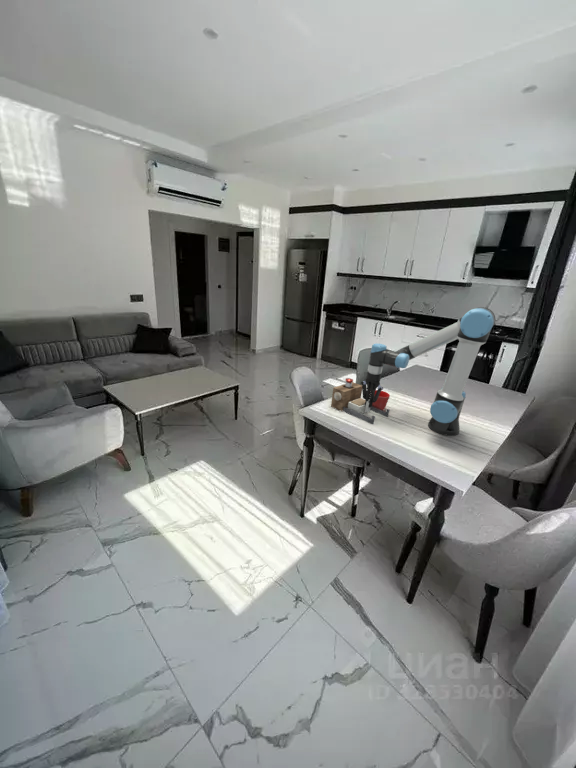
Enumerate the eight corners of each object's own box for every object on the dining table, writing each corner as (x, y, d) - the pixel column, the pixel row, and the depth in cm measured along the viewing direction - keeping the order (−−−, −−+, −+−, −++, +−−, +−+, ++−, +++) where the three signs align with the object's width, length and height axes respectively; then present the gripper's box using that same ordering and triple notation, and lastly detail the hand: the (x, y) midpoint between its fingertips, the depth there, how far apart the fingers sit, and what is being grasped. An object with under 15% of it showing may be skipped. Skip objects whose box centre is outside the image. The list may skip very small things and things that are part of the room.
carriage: (369, 410, 183) (371, 401, 181) (358, 415, 175) (360, 406, 173) (358, 405, 188) (359, 397, 186) (347, 410, 181) (348, 401, 179)
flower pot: (382, 414, 180) (386, 398, 177) (365, 408, 186) (367, 393, 183) (389, 408, 188) (392, 393, 185) (372, 403, 194) (375, 388, 191)
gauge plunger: (352, 392, 185) (354, 379, 182) (348, 394, 182) (350, 381, 179) (346, 390, 188) (348, 377, 185) (342, 391, 185) (344, 379, 182)
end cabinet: (359, 404, 191) (362, 385, 187) (341, 411, 179) (344, 392, 175) (349, 399, 197) (351, 381, 192) (330, 406, 184) (332, 387, 180)
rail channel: (388, 416, 177) (389, 409, 176) (372, 424, 167) (373, 417, 165) (358, 404, 191) (359, 397, 189) (342, 410, 180) (343, 403, 178)
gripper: (388, 374, 167) (380, 414, 175) (368, 368, 176) (361, 406, 184) (381, 377, 162) (373, 417, 170) (360, 370, 171) (353, 409, 179)
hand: (367, 411), depth 177 cm, fingers closed
